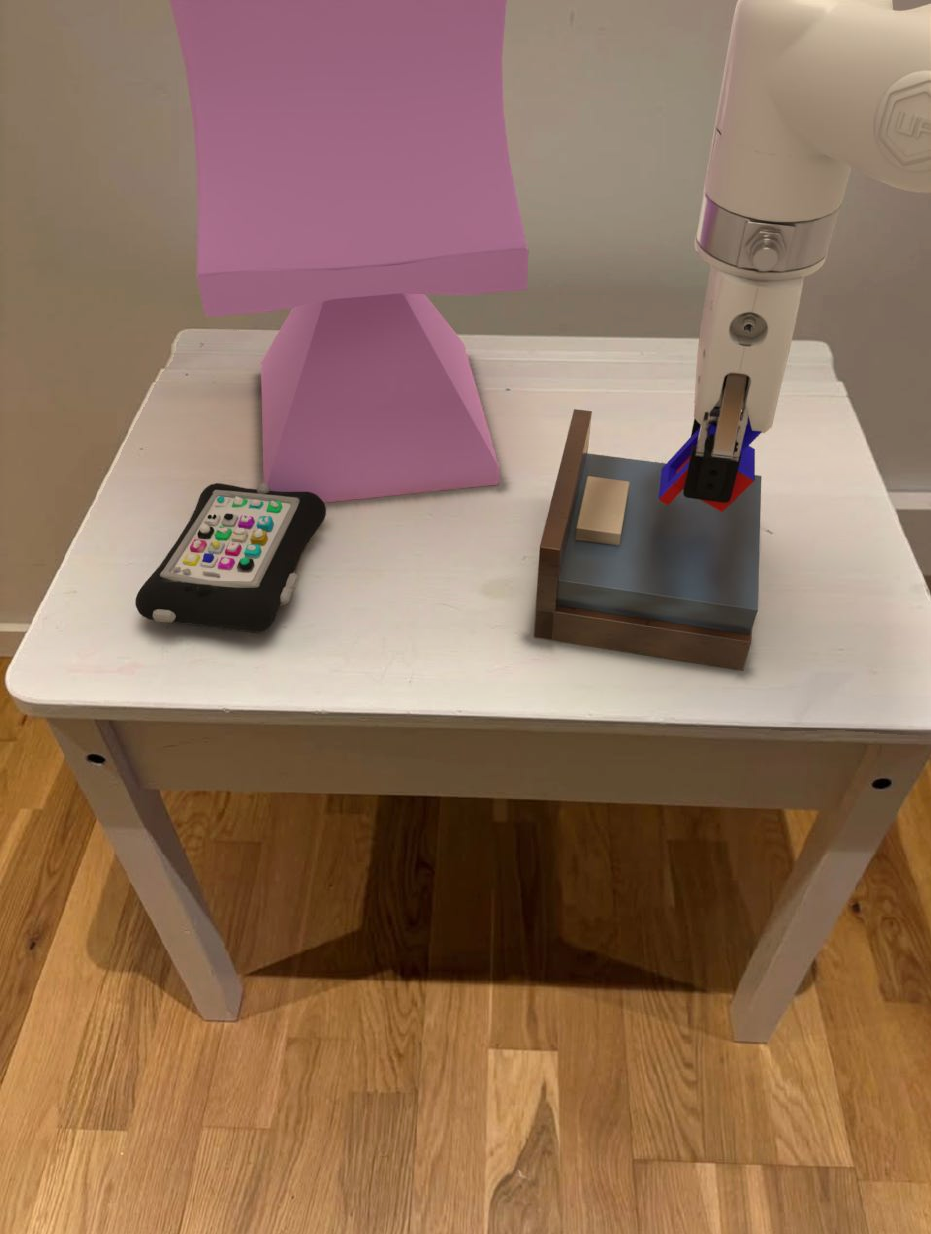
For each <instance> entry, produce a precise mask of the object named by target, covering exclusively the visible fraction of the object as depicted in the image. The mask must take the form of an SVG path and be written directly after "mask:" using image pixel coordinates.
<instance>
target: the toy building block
mask: <svg viewBox="0 0 931 1234" xmlns="http://www.w3.org/2000/svg"><path fill="white" fill-rule="evenodd" d="M747 421H748V422H747V425H746V429H745V433H744V438H743V442H742V446H741V451H740V452H742V453H741V460H740V464H739V468H738V472H737V476H736V480H735V484H734V488H733V492H732V496H731V499H730V501H729V502H727V503H722V502H714V501H707V500H701V501H703V502H705V503H707V504H708V505H710V506H712V507H714V508H715V509H717V510H719V511H721V512H723V511H724V510H725V509H726V508H727V507H728V506H729V505H730V504H731V503H732V502H734V501H735V500H736V499H737V498H738V497H739V496H740V495H741V494H742V493H743V492H744V491H745V490H746V489H747V488H748V487H749V486H750V485H751V484H752V483H753V482H754V481H755V475H756V449H755V448H754V447H752V446H751V444H752V443H753V442H754V441H755V440H756V439H757V438H758V437H759V436H760V435H761V434H762V433H761V432H760V431H752V428H751V424H750V420H749V416H748V420H747ZM700 427H701V426H700ZM699 432H700V428H699V429H698V430H697V431H696V432H695V433H694V434H693V435H692V436H691V435H690V437H689V438H688V439H687V440H686V441H685V443H683V445H682V446H681V447H680V448H679V449H678V450H677V451H676V452H675V453H674V455H672V456H671V458H670V459H669V460H668V461H667V462H665V463H666V465H665V466H664V467H663V468H662V469H661V479H660V488H659V497H658V500H659V501H661V502H662V503H664V504H666V505H669V504H670V503H671V502H672V501H673V500H674V499H675V497H676V496H677V495H678V494H679V493H680V492H681V491H682V490H684V485H685V480H686V475H687V470H688V466H689V461H690V456H691V451H692V446H697V442H698V437H699ZM715 432H716V426H714V425H713V424H710V428H709V433H708V436H709V435H710V434H714V435H715Z"/></svg>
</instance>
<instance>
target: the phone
mask: <svg viewBox="0 0 931 1234" xmlns="http://www.w3.org/2000/svg"><path fill="white" fill-rule="evenodd" d="M325 504H326V503H324V502H323V501H322V500H321V499H320V497H319V496H317V495H316V494H314V493H311V492H280V491H270V488H269V487H268V485H266V484H264V483H260V484H259V485H257V486H256V488H249V487H248V488H247V487H242V486H236V485H231V484H227V483H219V482H215V483H212V484H209V485H207V486H206V487H205V488H204V489H203V490H202V491H201V493H200V495H199V497H198V500H197V503H196V505H195V508H194V510H193V513H192V514H191V516H190V519H189V520H188V522H187V524H186V525H185V527H184V529H183V531H182V532H181V534H179V537H178V538H177V540H176V541H175V543H174V544H173V546H172V547H171V548H170V550H169V551H168V552H167V554H166V555H165V557H164V558H163V560H162V562H161V563H160V564H159V566H158V567H157V568H156V569H155V570H154V572H153V573H152V574H151V575H150V576H149V577H148V579H147V580H146V581H145V582H144V583H143V584H142V586H141V587H140V589H139V590H138V592H137V594H136V597H135V603H134V605H135V608H136V610H137V612H138V614H140V615H141V617H143V618H145V619H146V620H149V621H156V622H158V623H168V624H169V623H175V624H181V625H182V624H183V625H186V624H187V625H196V626H202V627H203V626H204V627H212V628H221V629H225V630H232V631H237V632H238V631H240V632H249V633H253V634H258V633H262V632H265V631H267V630H268V629H269V628H271V627H272V626H273V624H274V623H275V621H276V619H277V616H278V614H279V612H280V608H281V606H285V605H287V604H289V602H290V600H291V597H292V594H293V590H294V589H295V588H296V585H297V583H298V580H299V575H297V573H295V571H296V568H297V566H298V564H299V562H300V560H301V558H302V555H303V553H304V552H305V549H306V547H307V546H308V545H309V543H310V542H311V540H312V538H313V537H314V536H315V534H316V533H317V532H318V530H319V529H320V527H321V525H322V524H323V522H324V521H325V518H326V516H327V507H326V505H325Z"/></svg>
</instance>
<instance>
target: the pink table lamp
mask: <svg viewBox="0 0 931 1234" xmlns="http://www.w3.org/2000/svg"><path fill="white" fill-rule="evenodd" d="M168 1H169V5H170V8H171V11H172V16H173V20H174V24H175V29H176V32H177V37H178V41H179V46H180V50H181V54H182V59H183V63H184V67H185V73H186V74H185V75H186V80H187V88H188V94H189V95H188V96H189V102H190V108H191V116H192V125H193V127H192V128H193V139H194V150H195V151H194V152H195V164H196V165H195V166H196V192H197V193H196V195H197V196H196V197H197V234H196V235H197V239H196V240H197V241H196V242H197V243H196V244H197V245H196V280H197V281H196V282H197V285H198V290H199V295H200V300H201V303H202V307H203V312H204V313H203V314H204V316H205V318H214V317H224V316H225V317H226V316H237V315H249V314H260V313H272V312H276V311H277V312H278V311H282V310H286V309H291V310H290V311H289V313H288V315H287V317H286V318H285V321H284V322H283V324H282V325H281V327H280V328H279V330H278V332H277V334H276V336H275V338H274V339H273V340H272V342H271V344H270V346H269V348H268V349H267V351H266V352H265V354H264V356H263V357H262V360H261V361H260V380H261V381H260V383H261V387H260V388H261V422H262V423H261V424H262V425H261V426H262V428H261V429H262V464H263V467H262V468H263V469H262V470H263V484H266V485H268V487H269V488H270V491H280V492H311V493H314V494H316V495H317V496H319V497H320V499H321V500H322V501H323V502H324V504H326V503H333V502H342V501H343V502H345V501H353V500H363V499H372V498H382V497H391V496H400V495H411V494H421V493H429V492H430V493H431V492H440V491H449V490H459V489H469V488H477V487H486V486H496V485H500V471H501V469H500V468H501V467H500V465H499V462H498V458H497V455H496V452H495V447H494V444H493V440H492V437H491V434H490V430H489V427H488V426H489V425H488V423H487V419H486V416H485V413H484V410H483V409H484V408H483V406H482V405H483V404H482V402H481V398H480V394H479V391H478V388H477V384H476V381H475V377H474V373H473V370H472V367H471V366H472V365H471V363H470V359H469V355H468V352H467V349H466V346H465V343H464V342H463V340H462V339H461V338H460V337H459V335H458V334H457V333H456V331H455V330H454V329H453V328H452V326H451V325H450V323H448V322H447V320H446V319H445V317H444V316H443V315H442V314H441V312H439V310H438V308H437V307H436V306H435V305H434V303H432V301H431V300H430V298H429V297H428V296H427V295H441V296H472V295H473V296H475V295H484V294H495V293H496V294H497V293H508V292H519V291H520V292H521V291H527V290H528V272H529V247H528V244H527V239H526V234H525V231H524V226H523V221H522V216H521V211H520V207H519V203H518V202H519V201H518V197H517V193H516V188H515V182H514V181H515V180H514V176H513V171H512V170H513V169H512V165H511V159H510V153H509V144H508V135H507V127H506V119H505V112H504V111H505V109H504V107H505V106H504V79H503V52H504V38H505V26H506V25H505V24H506V11H507V4H508V3H507V2H508V0H168Z"/></svg>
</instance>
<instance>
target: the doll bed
mask: <svg viewBox="0 0 931 1234" xmlns="http://www.w3.org/2000/svg"><path fill="white" fill-rule="evenodd" d="M592 415H593V411H591V410H584V409H577V408H574V409H573V411H572V415H571V419H570V423H569V428H568V432H567V435H566V440H565V444H564V448H563V451H562V454H561V455H562V456H561V461H560V464H559V467H558V472H557V476H556V480H555V484H554V488H553V492H552V496H551V500H550V504H549V508H548V512H547V515H546V520H545V524H544V528H543V531H542V537H541V540H540V545H539V551H538V565H537V581H536V582H537V583H536V598H535V613H534V625H533V626H534V628H533V638H535V639H542V640H547V641H555V642H563V643H568V644H573V645H580V646H587V647H593V648H598V649H604V650H605V649H606V650H612V651H617V652H625V653H631V654H637V655H642V656H649V657H656V658H662V659H667V660H674V661H680V662H685V663H693V664H700V665H706V666H712V667H718V668H723V669H731V670H737V671H743V670H744V669H745V665H746V662H747V659H748V656H749V653H750V652H749V651H750V650H751V645H752V643H753V642H752V641H753V640H752V639H753V638H752V637H753V627H754V625H755V622H756V618H757V615H758V612H759V590H760V589H759V587H760V586H759V584H760V583H759V582H760V552H761V551H760V548H761V547H760V546H761V545H760V544H761V511H762V510H761V508H762V507H761V506H762V475H757V474H755V481H754V482H753V483H752V484H751V485H750V486H749V487H748V488H747V489H746V490H745V491H744V492H743V493H742V494H741V495H740V496H739V497H738V498H737V499H736V500H735V501H734V502H732V503H731V504H730V505H729V506H728V507H727V508H726V509H725V510H724V511H723V512H721V511H719V510H717V509H715V508H714V507H712V506H710V505H708V504H707V503H705V502H703V501H701V500H700V499H692V498H687V497H685V496H684V494H683V492H684V490H682V491H681V492H680V493H679V494H678V495H677V496H676V497H675V499H674V500H673V501H672V502H671V503H670V504H669V505H666V504H664V503H662V502H661V501H659V500H658V497H659V488H660V479H661V469H662V468H663V467H664V466H665V465H666V463H667V462H657V461H650V460H643V459H633V458H627V457H619V456H611V455H603V454H597V453H589V443H590V433H591V424H592Z"/></svg>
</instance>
